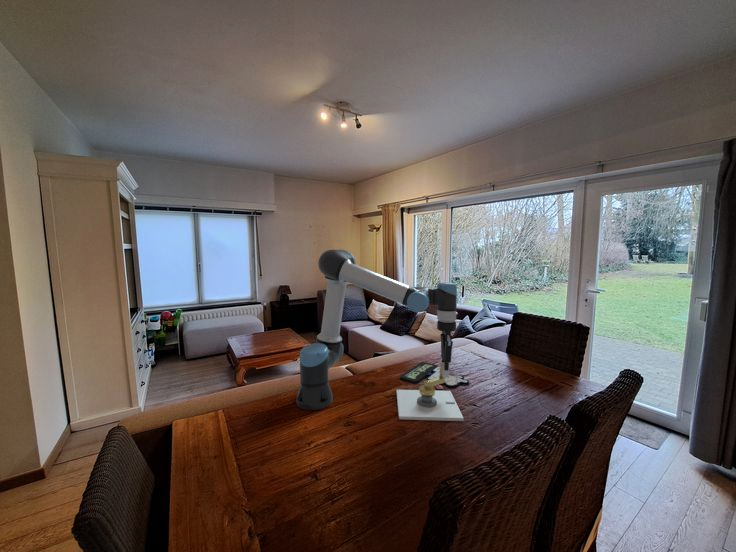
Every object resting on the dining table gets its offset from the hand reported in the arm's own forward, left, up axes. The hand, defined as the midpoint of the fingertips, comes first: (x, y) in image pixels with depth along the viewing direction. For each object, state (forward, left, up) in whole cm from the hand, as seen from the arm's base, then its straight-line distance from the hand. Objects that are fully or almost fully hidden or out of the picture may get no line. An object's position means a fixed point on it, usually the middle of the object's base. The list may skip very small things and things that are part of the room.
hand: (445, 377), depth 122 cm
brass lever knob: (-5, +1, -6) cm, 8 cm away
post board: (-8, -1, -12) cm, 14 cm away
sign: (+1, +26, -12) cm, 29 cm away
